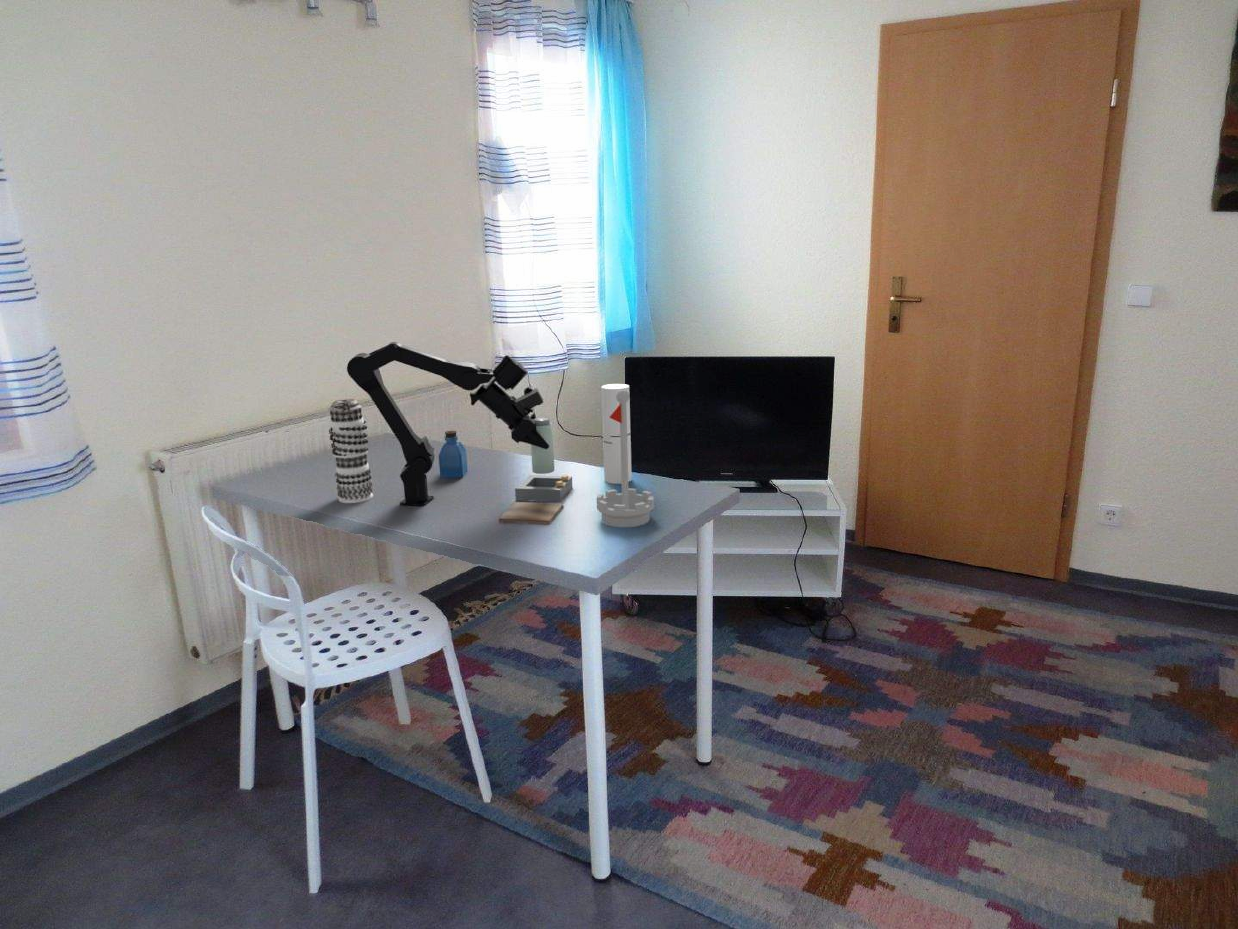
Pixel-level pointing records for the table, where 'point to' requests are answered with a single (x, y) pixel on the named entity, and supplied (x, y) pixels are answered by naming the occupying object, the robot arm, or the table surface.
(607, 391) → the cylindrical container
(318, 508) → the table surface
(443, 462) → the perfume bottle
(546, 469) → the grey-lidded mint jar
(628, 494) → the flag stand
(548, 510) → the walnut pad
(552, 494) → the grey square tray
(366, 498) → the decorative candle
